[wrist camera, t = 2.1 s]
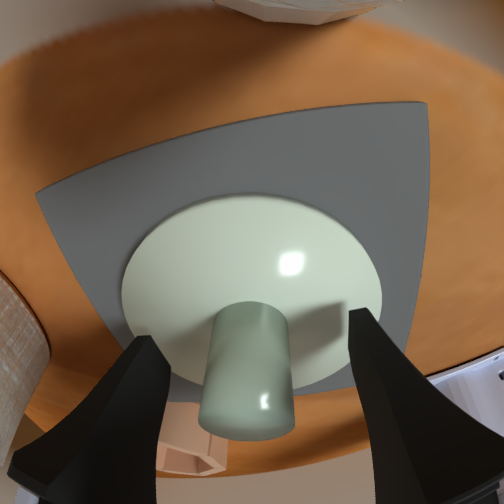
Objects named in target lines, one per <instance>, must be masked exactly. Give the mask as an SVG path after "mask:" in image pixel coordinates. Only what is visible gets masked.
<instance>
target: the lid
mask: <svg viewBox="0 0 504 504" xmlns="http://www.w3.org/2000/svg"><path fill="white" fill-rule="evenodd" d="M121 296H122V307H123V311H124V315H125V318H126V321H127V323H128V325H129V328H130V330H131V331H132V333H133V335H134V336H135V338H136V336H141V335H151V337H152V338H153V340H154V342H155V343H156V345H157V346H158V348H159V349H160V351H161V352H162V354H163V355H164V357H165V358H166V360H167V361H168V363H169V364H170V366H171V371H172V372H173V373H175V374H177V375H179V376H181V377H183V378H185V379H187V380H189V381H192V382H194V383H197V384H200V385H203V389H202V395H201V402H200V408H199V415H198V423H199V425H200V427H201V428H203V429H204V430H205V431H207V432H209V433H210V434H213V435H215V436H218V437H221V438H225V439H230V440H236V441H264V440H270V439H275V438H278V437H281V436H284V435H286V434H287V433H289V432H290V431H292V430H293V428H294V426H295V416H294V400H293V389H296V388H300V387H303V386H306V385H310V384H312V383H315V382H317V381H320V380H322V379H324V378H326V377H328V376H330V375H332V374H333V373H335V372H337V371H338V370H340V369H341V368H343V367H344V366H345V365H347V364H348V363H349V362H350V357H349V352H348V319H349V310H354V309H359V308H364V307H366V308H368V309H369V310H370V312H371V313H372V315H373V316H374V317H375V319H376V320H377V322H378V321H379V318H380V313H381V307H382V291H381V286H380V280H379V277H378V275H377V272H376V270H375V267H374V265H373V263H372V261H371V259H370V257H369V255H368V253H367V252H366V250H365V249H364V247H363V245H362V244H361V242H360V241H359V240H358V238H357V237H356V236H355V235H354V234H353V233H352V232H351V231H350V229H349V228H347V227H346V226H345V225H344V224H343V223H341V222H340V221H339V220H338V219H336V218H335V217H333V216H332V215H330V214H328V213H327V212H325V211H323V210H322V209H320V208H318V207H316V206H313V205H311V204H308V203H306V202H303V201H301V200H298V199H294V198H290V197H286V196H282V195H276V194H268V193H259V192H245V193H230V194H223V195H217V196H212V197H209V198H206V199H202V200H199V201H195V202H193V203H191V204H189V205H186V206H184V207H182V208H180V209H178V210H176V211H175V212H173V213H171V214H170V215H168V216H167V217H165V218H164V219H162V220H161V221H160V222H159V223H158V224H157V225H156V226H155V227H154V228H152V229H151V230H150V231H149V233H148V234H147V235H146V237H145V238H144V239H143V240H142V242H141V243H140V245H139V246H138V248H137V249H136V251H135V253H134V254H133V256H132V258H131V260H130V262H129V264H128V266H127V268H126V271H125V274H124V278H123V282H122V292H121Z"/></svg>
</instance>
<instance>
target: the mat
mask: <svg viewBox="0 0 504 504" xmlns="http://www.w3.org/2000/svg"><path fill="white" fill-rule="evenodd" d="M429 187H430V143H429V122H428V109H427V103H424V102H419V101H398V102H374V103H359V104H347V105H337V106H327V107H319V108H311V109H304V110H297V111H290V112H284V113H278V114H272V115H267V116H262V117H256V118H251V119H246V120H242V121H237V122H233V123H228V124H224V125H220V126H216V127H211V128H207V129H204V130H200V131H196V132H192V133H189V134H185V135H182V136H178V137H175V138H171V139H168V140H165V141H161V142H158V143H155V144H152V145H149V146H146V147H143V148H140V149H137V150H134V151H131V152H128V153H126V154H123V155H120V156H117V157H115V158H112V159H109V160H107V161H104V162H102V163H99V164H97V165H94V166H92V167H89V168H87V169H84V170H82V171H80V172H77V173H75V174H73V175H70V176H68V177H66V178H64V179H61V180H59V181H57V182H55V183H53V184H51V185H49V186H47V187H45V188H43V189H41V190H40V191H38V192H37V193H35V195H36V198H37V200H38V203H39V205H40V207H41V210H42V212H43V214H44V216H45V219H46V221H47V223H48V225H49V227H50V229H51V231H52V233H53V235H54V237H55V239H56V241H57V243H58V245H59V247H60V249H61V251H62V253H63V255H64V257H65V259H66V261H67V263H68V264H69V266H70V268H71V270H72V272H73V273H74V275H75V277H76V279H77V280H78V282H79V284H80V285H81V287H82V289H83V290H84V292H85V294H86V295H87V297H88V299H89V300H90V302H91V303H92V305H93V307H94V308H95V310H96V311H97V313H98V314H99V316H100V317H101V319H102V320H103V322H104V323H105V325H106V326H107V328H108V329H109V331H110V332H111V333H112V335H113V336H114V338H115V339H116V340H117V342H118V343H119V345H120V346H121V347H122V349H123V350H124V351H125V349H126V348H127V347H128V346H129V345H130V343H131V342H132V341H133V340H134V339H135V336H134V335H133V333H132V331H131V330H130V328H129V325H128V323H127V321H126V318H125V315H124V311H123V307H122V296H121V292H122V282H123V278H124V274H125V271H126V268H127V266H128V264H129V262H130V260H131V258H132V256H133V254H134V253H135V251H136V249H137V248H138V246H139V245H140V243H141V242H142V240H143V239H144V238H145V237H146V235H147V234H148V233H149V231H150V230H151V229H152V228H154V227H155V226H156V225H157V224H158V223H159V222H160V221H161V220H162V219H164V218H165V217H167V216H168V215H170V214H171V213H173V212H175V211H176V210H178V209H180V208H182V207H184V206H186V205H189V204H191V203H193V202H195V201H199V200H202V199H206V198H209V197H212V196H217V195H223V194H230V193H245V192H259V193H268V194H276V195H282V196H286V197H290V198H294V199H298V200H301V201H303V202H306V203H308V204H311V205H313V206H316V207H318V208H320V209H322V210H323V211H325V212H327V213H328V214H330V215H332V216H333V217H335V218H336V219H338V220H339V221H340V222H341V223H343V224H344V225H345V226H346V227H347V228H349V229H350V231H351V232H352V233H353V234H354V235H355V236H356V237H357V238H358V240H359V241H360V242H361V244H362V245H363V247H364V249H365V250H366V252H367V253H368V255H369V257H370V259H371V261H372V263H373V265H374V267H375V270H376V272H377V275H378V277H379V280H380V286H381V291H382V307H381V313H380V318H379V321H378V323H379V324H380V326H381V327H382V328H383V329H384V331H385V332H386V333H387V335H388V336H389V337H390V338H391V340H392V341H393V342H394V343H395V344H396V346H397V347H398V348H399V349H400V350H401V351H402V353H403V354H404V352H405V348H406V344H407V340H408V337H409V332H410V328H411V324H412V320H413V315H414V310H415V306H416V301H417V295H418V290H419V284H420V278H421V272H422V266H423V258H424V251H425V242H426V233H427V222H428V208H429ZM353 386H356V384H355V380H354V377H353V373H352V368H351V363H350V362H349V363H348V364H347V365H345V366H344V367H343V368H341V369H340V370H338V371H337V372H335V373H333V374H332V375H330V376H328V377H326V378H324V379H322V380H320V381H317V382H315V383H312V384H310V385H306V386H303V387H300V388H296V389H293V396H299V395H306V394H313V393H320V392H326V391H332V390H337V389H343V388H348V387H353ZM202 389H203V385H200V384H197V383H194V382H192V381H189V380H187V379H185V378H183V377H181V376H179V375H177V374H175V373H173V372H172V371H171V378H170V388H169V394H168V398H167V401H169V402H201V395H202Z"/></svg>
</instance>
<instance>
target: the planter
mask: <svg viewBox="0 0 504 504" xmlns="http://www.w3.org/2000/svg"><path fill="white" fill-rule="evenodd" d="M49 359H50V349H49V345H48V342H47V339H46V336H45V334H44V331H43V329H42V327H41V325H40V323H39V321H38V320H37V318H36V316H35V314H34V313H33V311H32V309H31V308H30V306H29V305H28V304H27V302H26V301H25V299H24V298H23V297H22V295H21V294H20V293H19V291H18V290H17V289H16V288H15V286H14V285H13V284H12V283H11V282H10V281H9V280H8V279H7V277H6V276H5V275H4V274H3V273H2V272H1V271H0V466H3V464H4V461H5V459H6V456H7V453H8V450H9V447H10V444H11V442H12V439H13V437H14V434H15V432H16V430H17V427H18V425H19V423H20V420H21V418H22V416H23V414H24V411H25V409H26V407H27V405H28V403H29V401H30V399H31V397H32V395H33V393H34V391H35V389H36V387H37V385H38V383H39V381H40V379H41V377H42V375H43V373H44V371H45V369H46V367H47V365H48V362H49Z"/></svg>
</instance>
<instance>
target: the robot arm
mask: <svg viewBox="0 0 504 504" xmlns="http://www.w3.org/2000/svg"><path fill="white" fill-rule="evenodd" d="M348 352H349V357H350V363H351V368H352V373H353V377H354V380H355V384H356V387H357V390H358V394H359V397H360V401H361V404H362V408H363V412H364V415H365V419H366V423H367V427H368V431H369V437H370V444H371V451H372V460H373V469H374V480H375V495H376V496H375V497H376V504H504V348H502V349H499V350H497V351H495V352H493V353H491V354H488V355H486V356H484V357H481V358H479V359H476V360H474V361H471V362H469V363H466V364H464V365H461V366H458V367H456V368H453V369H450V370H447V371H445V372H442V373H439V374H436V375H433V376H430V377H427V378H425V376H424V375H423V374H422V373H421V372H420V371H419V370H418V369H417V368H416V367H415V366H414V365H413V364H412V363H411V362H410V361H409V359H408V358H407V357H406V356H405V355H404V354H403V353H402V351H401V350H400V349H399V348H398V347H397V346H396V344H395V343H394V342H393V341H392V340H391V338H390V337H389V336H388V335H387V333H386V332H385V331H384V329H383V328H382V327H381V326H380V324H379V323H378V322H377V320H376V319H375V317H374V316H373V315H372V313H371V312H370V310H369V309H368V308H366V307H364V308H359V309H354V310H349V319H348ZM170 378H171V366H170V364H169V363H168V361H167V360H166V358H165V357H164V355H163V354H162V352H161V351H160V349H159V348H158V346H157V345H156V343H155V342H154V340H153V338H152V337H151V335H141V336H136V338H135V339H134V340H133V341H132V342H131V343H130V345H129V346H128V347H127V348H126V349H125V351H124V352H123V353H122V354H121V356H120V357H119V358H118V359H117V361H116V362H115V363H114V364H113V366H112V367H111V368H110V369H109V371H108V372H107V373H106V374H105V376H104V377H103V378H102V379H101V380H100V382H99V383H98V384H97V385H96V386H95V387H94V388H93V390H92V391H91V392H90V393H89V394H88V395H87V397H86V398H85V399H84V400H83V401H82V402H81V403H80V404H79V405H78V406H77V407H76V408H75V409H74V410H73V411H72V412H71V413H70V414H69V415H68V416H66V417H65V418H64V419H63V420H62V421H60V422H59V423H58V424H57V425H56V426H54V427H53V428H52V429H51V430H49V431H48V432H47V433H45V434H44V435H43V436H41V437H39V438H38V439H36V440H35V441H33V442H32V443H30V444H28V445H26V446H24V447H22V448H21V449H19V450H17V451H15V452H14V454H13V457H12V460H11V463H10V466H9V469H8V472H7V475H8V476H9V477H10V478H11V479H13V480H14V481H15V482H17V483H18V484H20V485H22V486H23V487H22V486H19V487H18V491H17V495H16V498H15V502H14V504H157V503H156V458H157V446H158V439H159V434H160V430H161V425H162V421H163V416H164V412H165V407H166V403H167V398H168V394H169V388H170ZM24 487H25V488H24Z"/></svg>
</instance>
